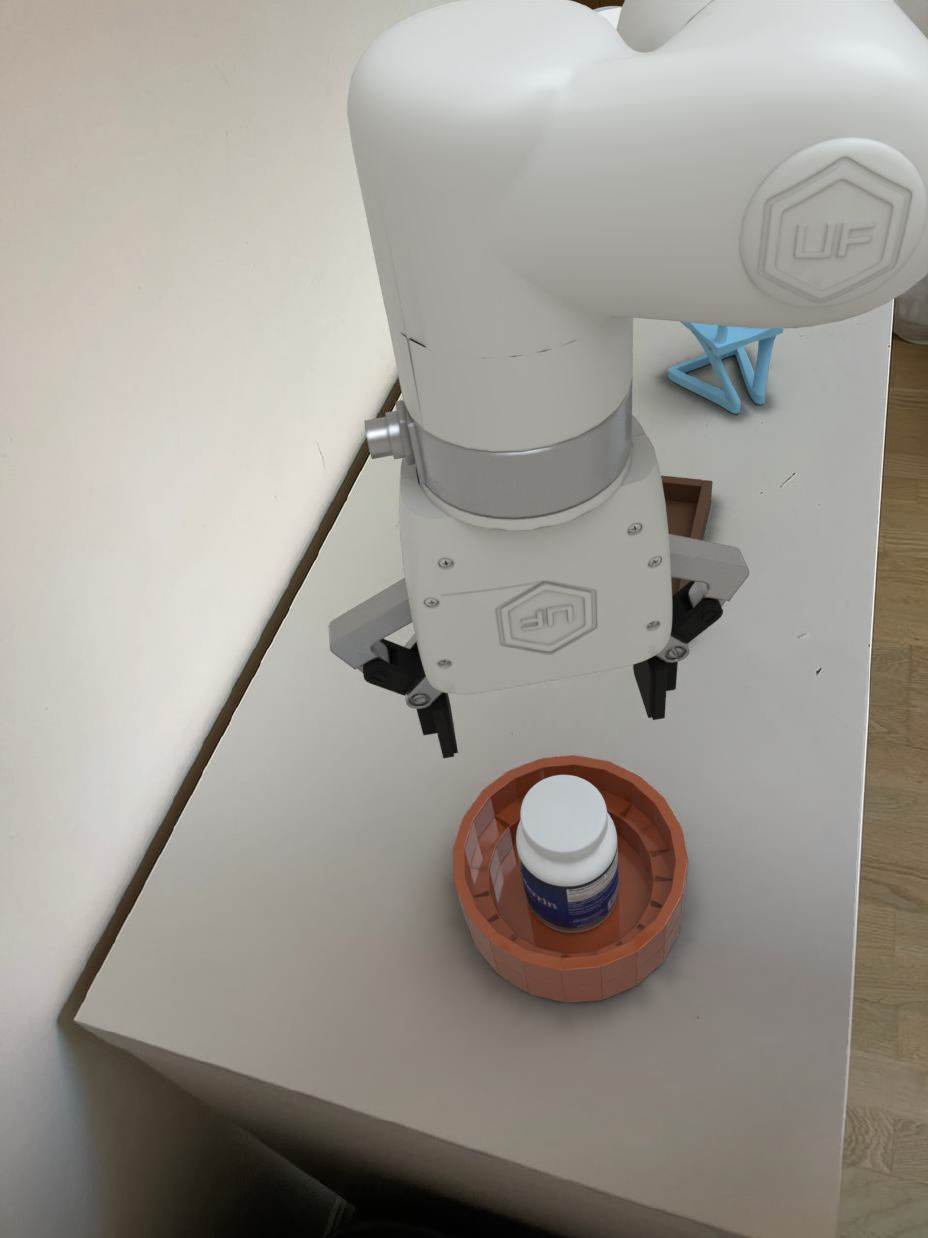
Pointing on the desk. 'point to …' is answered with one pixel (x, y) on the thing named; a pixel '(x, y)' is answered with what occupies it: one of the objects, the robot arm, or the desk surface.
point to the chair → (717, 347)
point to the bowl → (644, 896)
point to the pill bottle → (568, 854)
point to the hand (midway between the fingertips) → (547, 713)
